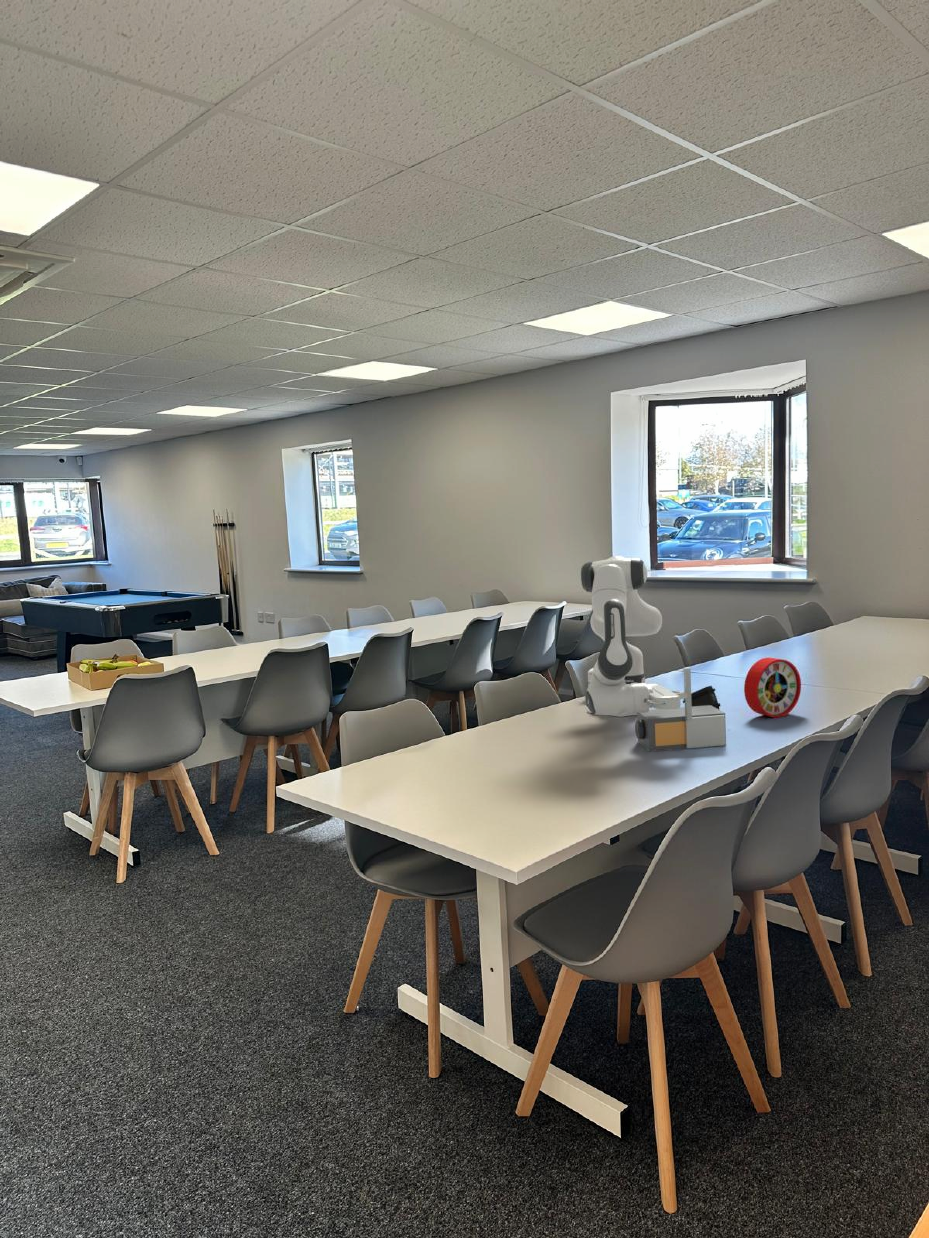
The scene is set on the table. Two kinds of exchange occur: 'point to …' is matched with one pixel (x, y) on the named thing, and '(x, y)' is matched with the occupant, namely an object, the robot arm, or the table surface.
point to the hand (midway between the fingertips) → (685, 694)
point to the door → (701, 723)
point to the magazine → (704, 697)
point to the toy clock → (772, 687)
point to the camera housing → (668, 726)
